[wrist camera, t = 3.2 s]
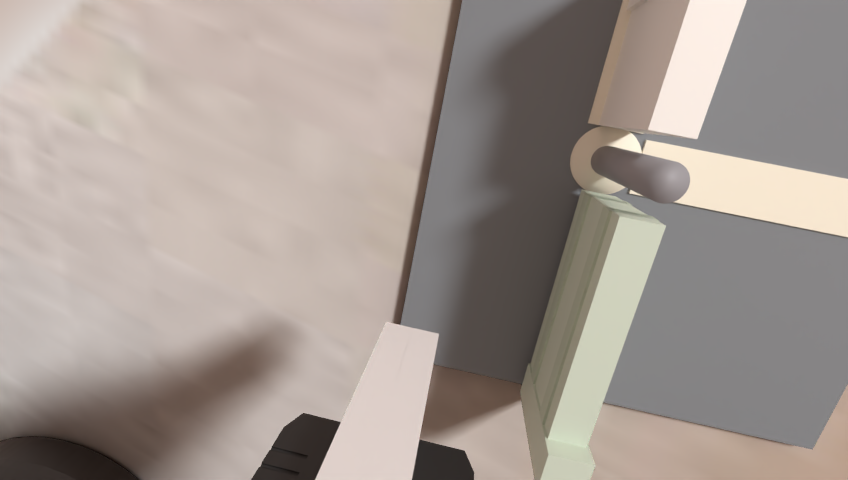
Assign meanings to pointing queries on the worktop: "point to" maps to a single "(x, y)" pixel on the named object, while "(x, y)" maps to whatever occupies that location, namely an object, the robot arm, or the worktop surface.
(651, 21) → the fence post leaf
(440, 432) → the worktop surface
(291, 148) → the worktop surface
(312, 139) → the worktop surface
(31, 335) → the worktop surface
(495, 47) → the mat
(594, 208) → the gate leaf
